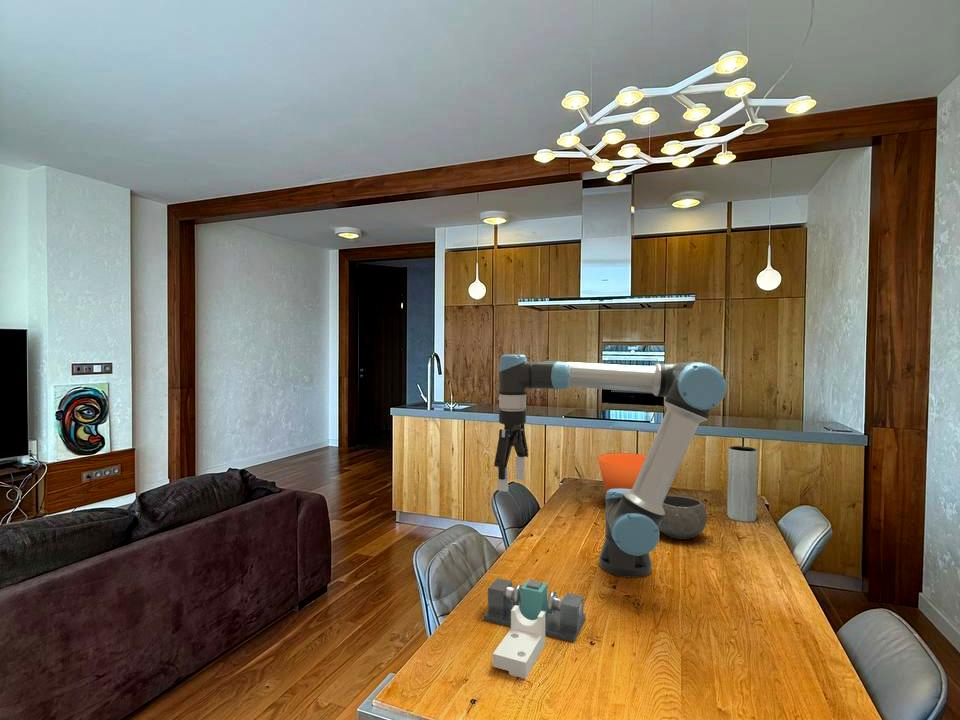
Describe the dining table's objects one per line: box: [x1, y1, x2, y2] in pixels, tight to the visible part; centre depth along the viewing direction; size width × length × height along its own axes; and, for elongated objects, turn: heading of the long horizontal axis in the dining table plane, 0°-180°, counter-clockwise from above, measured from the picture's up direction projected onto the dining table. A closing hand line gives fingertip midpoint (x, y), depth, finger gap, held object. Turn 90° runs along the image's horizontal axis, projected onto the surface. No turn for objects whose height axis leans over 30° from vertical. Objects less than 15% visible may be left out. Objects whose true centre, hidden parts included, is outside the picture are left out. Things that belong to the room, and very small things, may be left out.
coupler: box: [521, 579, 549, 620], centre depth 123 cm, size 5×5×8 cm
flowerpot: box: [597, 452, 647, 494], centre depth 212 cm, size 25×25×20 cm
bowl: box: [658, 494, 708, 540], centre depth 179 cm, size 18×18×13 cm
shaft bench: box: [483, 577, 587, 643], centre depth 123 cm, size 22×11×8 cm, turn 66°
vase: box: [726, 445, 758, 523], centre depth 198 cm, size 10×10×27 cm
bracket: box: [492, 605, 546, 680], centre depth 108 cm, size 13×7×8 cm, turn 156°
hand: (511, 484), depth 144 cm, fingers open, 13 cm apart
